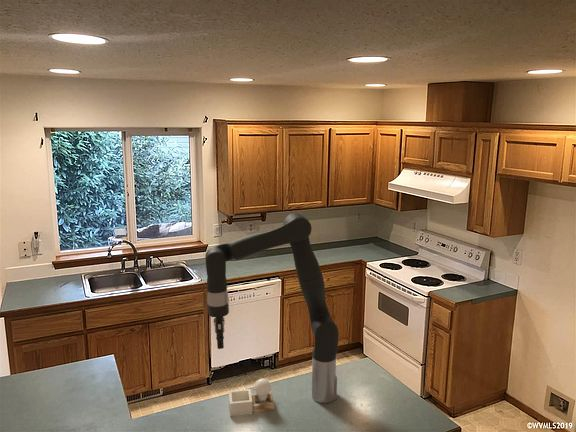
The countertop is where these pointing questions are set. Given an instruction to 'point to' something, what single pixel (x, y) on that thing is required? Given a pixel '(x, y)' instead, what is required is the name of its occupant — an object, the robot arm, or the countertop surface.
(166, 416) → the countertop surface
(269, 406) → the wooden frame
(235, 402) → the cream open cubby box
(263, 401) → the lightbulb
